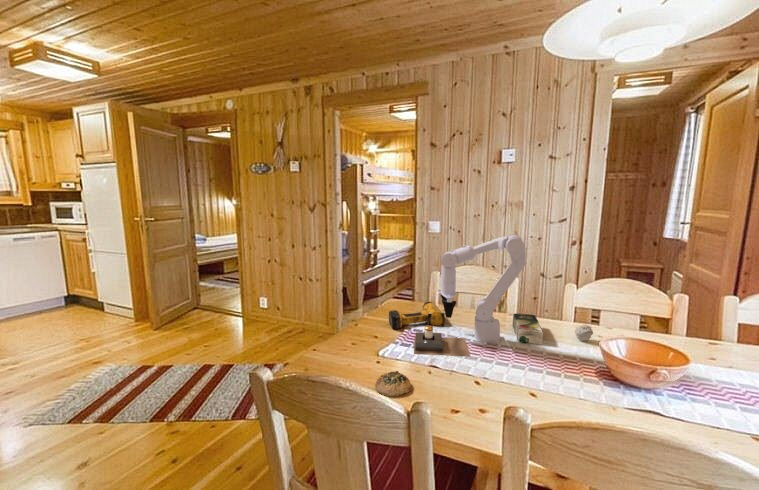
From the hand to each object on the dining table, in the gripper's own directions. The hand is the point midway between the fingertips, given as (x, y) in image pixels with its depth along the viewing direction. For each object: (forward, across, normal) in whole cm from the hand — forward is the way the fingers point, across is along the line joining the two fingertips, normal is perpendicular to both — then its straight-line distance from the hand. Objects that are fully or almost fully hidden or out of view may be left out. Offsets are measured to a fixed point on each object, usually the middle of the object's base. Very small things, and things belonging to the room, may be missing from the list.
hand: (447, 314), depth 145 cm
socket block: (+9, +12, -8) cm, 17 cm away
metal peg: (+8, +12, -8) cm, 17 cm away
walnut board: (+9, +12, -4) cm, 16 cm away
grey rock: (+10, 0, +53) cm, 54 cm away
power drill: (+10, -19, -14) cm, 25 cm away
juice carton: (+10, -5, +33) cm, 35 cm away
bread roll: (+10, +41, -19) cm, 47 cm away
